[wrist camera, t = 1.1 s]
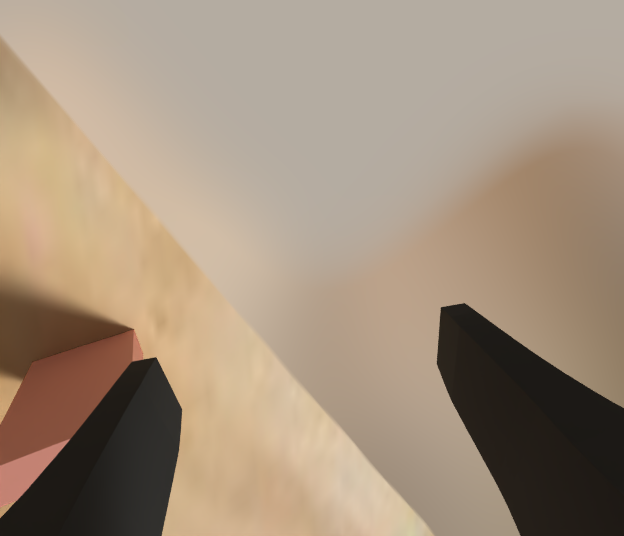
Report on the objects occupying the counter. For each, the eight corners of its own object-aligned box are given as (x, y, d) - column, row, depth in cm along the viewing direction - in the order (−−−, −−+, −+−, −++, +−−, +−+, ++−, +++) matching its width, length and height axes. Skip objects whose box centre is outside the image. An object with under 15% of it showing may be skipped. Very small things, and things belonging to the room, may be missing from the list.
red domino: (142, 353, 22) (144, 447, 15) (45, 386, 21) (-4, 508, 14) (133, 329, 22) (130, 415, 15) (32, 361, 20) (-26, 475, 13)
